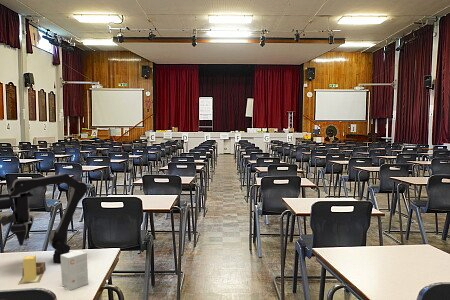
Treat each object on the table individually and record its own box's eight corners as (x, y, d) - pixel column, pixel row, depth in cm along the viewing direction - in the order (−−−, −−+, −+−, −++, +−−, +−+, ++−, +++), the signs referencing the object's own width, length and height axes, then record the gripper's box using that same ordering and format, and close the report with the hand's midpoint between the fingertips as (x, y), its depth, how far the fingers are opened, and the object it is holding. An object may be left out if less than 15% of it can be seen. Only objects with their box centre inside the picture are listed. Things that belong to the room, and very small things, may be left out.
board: (46, 270, 182) (45, 267, 182) (39, 284, 165) (39, 281, 165) (26, 272, 180) (26, 269, 180) (17, 287, 163) (17, 283, 163)
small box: (80, 280, 169) (78, 249, 168) (88, 284, 165) (87, 252, 164) (61, 286, 163) (59, 254, 162) (69, 290, 159) (68, 257, 158)
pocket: (45, 268, 182) (45, 261, 181) (42, 274, 174) (42, 267, 174) (26, 270, 179) (26, 263, 179) (22, 276, 172) (22, 269, 172)
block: (36, 276, 171) (35, 255, 170) (34, 280, 167) (33, 258, 166) (26, 277, 169) (24, 256, 169) (24, 281, 166) (22, 259, 165)
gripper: (6, 204, 187) (8, 238, 188) (-5, 213, 169) (-3, 250, 170) (33, 203, 190) (34, 236, 191) (24, 211, 172) (26, 247, 173)
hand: (23, 242), depth 181 cm, fingers open, 9 cm apart
